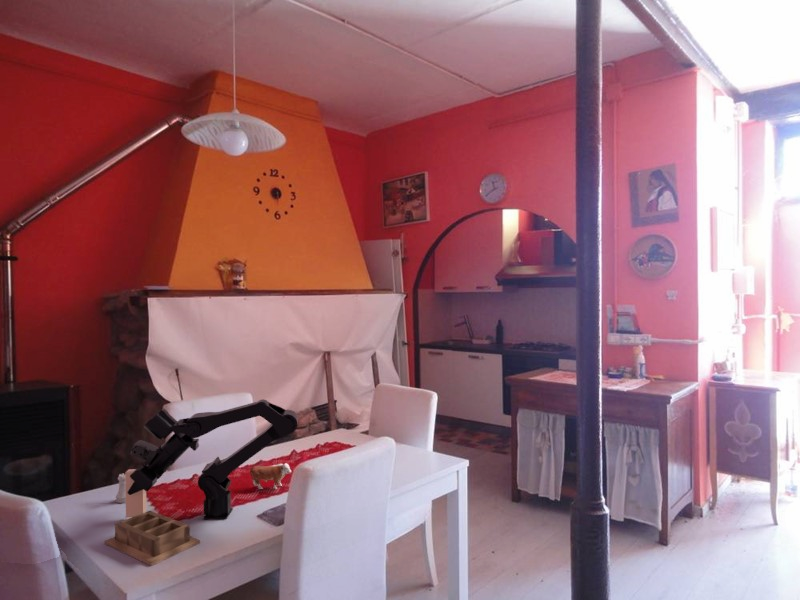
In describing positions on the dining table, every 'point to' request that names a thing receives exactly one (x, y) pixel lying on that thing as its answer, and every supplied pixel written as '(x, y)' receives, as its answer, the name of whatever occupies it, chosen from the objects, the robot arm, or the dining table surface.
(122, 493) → the rook chess piece
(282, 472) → the bull figurine
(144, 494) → the tan rectangular block
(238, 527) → the dining table surface
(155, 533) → the wooden compartment tray
